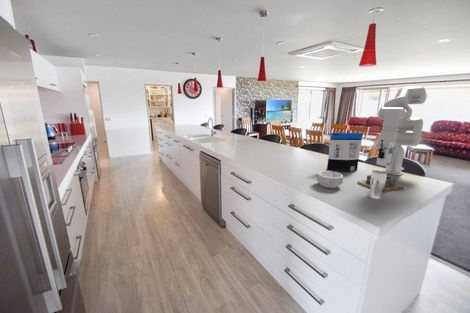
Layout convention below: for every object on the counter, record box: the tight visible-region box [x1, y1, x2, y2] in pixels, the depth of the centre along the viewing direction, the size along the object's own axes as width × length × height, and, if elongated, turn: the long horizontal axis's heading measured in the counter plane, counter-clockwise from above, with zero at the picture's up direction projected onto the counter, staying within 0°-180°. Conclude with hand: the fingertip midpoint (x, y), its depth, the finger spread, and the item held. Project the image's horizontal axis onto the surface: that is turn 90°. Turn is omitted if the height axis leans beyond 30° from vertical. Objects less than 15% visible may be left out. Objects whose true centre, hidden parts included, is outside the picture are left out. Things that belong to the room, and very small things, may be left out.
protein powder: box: [326, 132, 363, 173], centre depth 166 cm, size 10×24×30 cm, turn 90°
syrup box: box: [375, 143, 394, 167], centre depth 131 cm, size 6×6×14 cm
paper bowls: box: [316, 170, 344, 189], centre depth 134 cm, size 15×15×8 cm
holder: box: [357, 174, 405, 193], centre depth 135 cm, size 20×16×6 cm
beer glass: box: [368, 169, 387, 201], centre depth 116 cm, size 7×7×15 cm
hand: (384, 157), depth 131 cm, fingers closed on syrup box, 6 cm apart
